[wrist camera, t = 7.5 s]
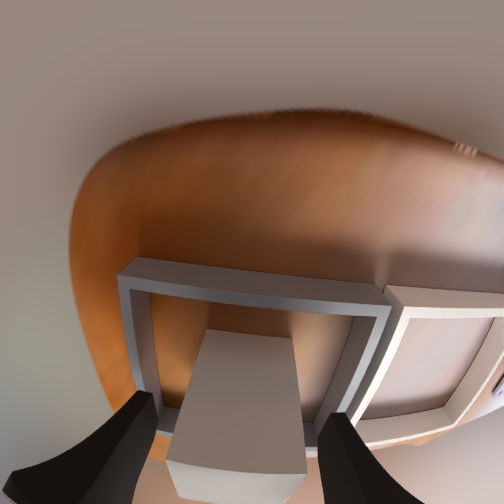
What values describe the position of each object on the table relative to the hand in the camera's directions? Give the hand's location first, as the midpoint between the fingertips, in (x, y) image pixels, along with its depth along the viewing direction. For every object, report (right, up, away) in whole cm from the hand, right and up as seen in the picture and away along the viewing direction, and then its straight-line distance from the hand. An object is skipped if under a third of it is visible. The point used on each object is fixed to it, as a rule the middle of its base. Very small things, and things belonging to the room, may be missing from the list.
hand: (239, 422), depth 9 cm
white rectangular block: (0, +1, +3) cm, 4 cm away
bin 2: (+11, 0, +3) cm, 12 cm away
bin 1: (0, +1, +3) cm, 4 cm away
